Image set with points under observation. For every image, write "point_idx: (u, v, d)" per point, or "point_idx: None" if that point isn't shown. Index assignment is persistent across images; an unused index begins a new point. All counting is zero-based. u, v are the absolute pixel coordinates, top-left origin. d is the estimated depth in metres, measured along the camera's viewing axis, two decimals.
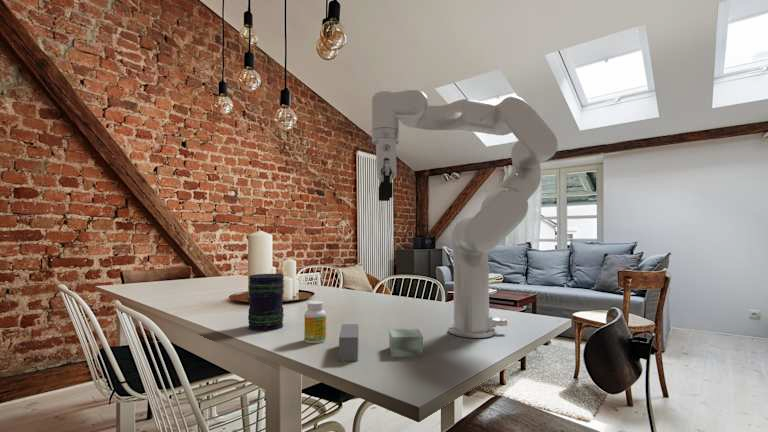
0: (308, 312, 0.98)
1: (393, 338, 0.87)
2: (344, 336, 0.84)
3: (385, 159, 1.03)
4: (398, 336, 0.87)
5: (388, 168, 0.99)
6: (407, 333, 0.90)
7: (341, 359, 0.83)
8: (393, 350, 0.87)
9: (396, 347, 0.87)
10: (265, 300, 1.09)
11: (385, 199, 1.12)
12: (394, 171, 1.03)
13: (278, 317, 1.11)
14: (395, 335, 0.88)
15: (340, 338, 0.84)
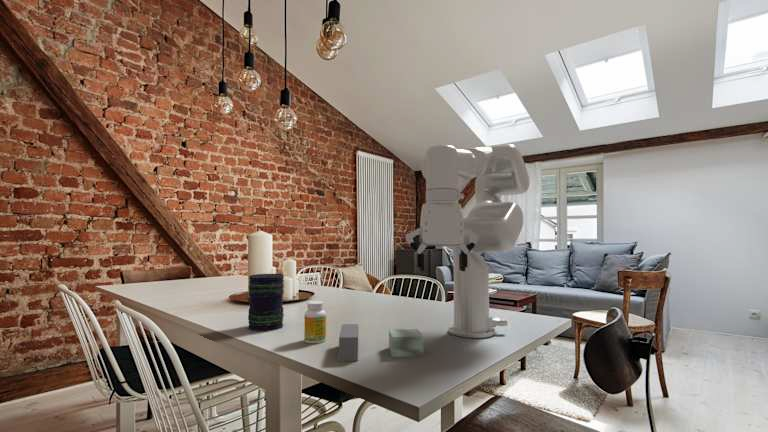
0: (308, 312, 0.98)
1: (393, 338, 0.87)
2: (344, 336, 0.84)
3: (463, 227, 0.92)
4: (398, 336, 0.87)
5: None
6: (407, 333, 0.90)
7: (341, 359, 0.83)
8: (393, 350, 0.86)
9: (396, 347, 0.87)
10: (265, 300, 1.09)
11: None
12: None
13: (278, 317, 1.11)
14: (395, 335, 0.88)
15: (340, 338, 0.84)
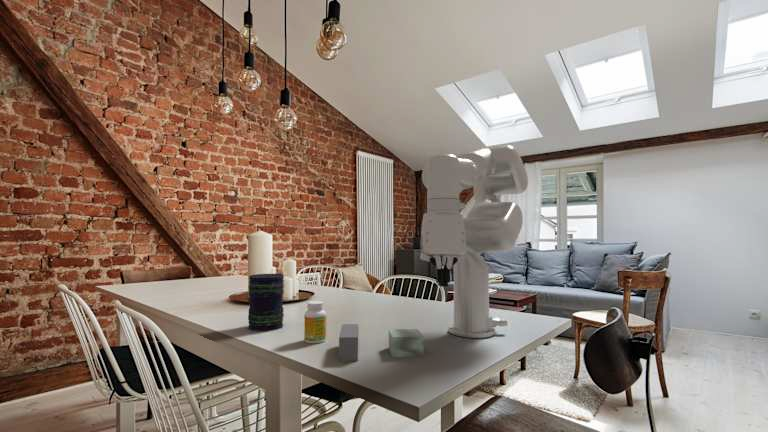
0: (308, 312, 0.98)
1: (394, 338, 0.87)
2: (344, 336, 0.84)
3: None
4: (399, 336, 0.87)
5: (461, 260, 0.92)
6: (407, 333, 0.90)
7: (341, 359, 0.83)
8: (394, 350, 0.86)
9: (396, 347, 0.87)
10: (265, 300, 1.09)
11: None
12: None
13: (278, 317, 1.11)
14: (395, 335, 0.88)
15: (340, 338, 0.84)
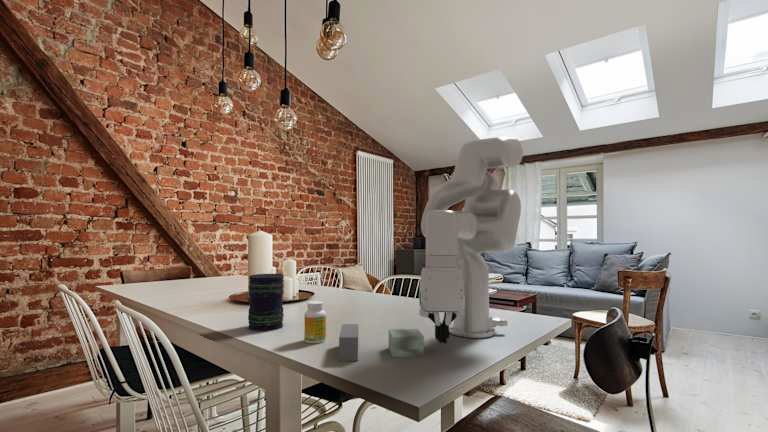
0: (308, 312, 0.98)
1: (394, 338, 0.87)
2: (344, 336, 0.84)
3: None
4: (399, 336, 0.87)
5: None
6: (407, 333, 0.90)
7: (341, 359, 0.83)
8: (394, 350, 0.86)
9: (397, 347, 0.86)
10: (265, 300, 1.09)
11: None
12: None
13: (278, 317, 1.11)
14: (396, 335, 0.88)
15: (340, 338, 0.84)
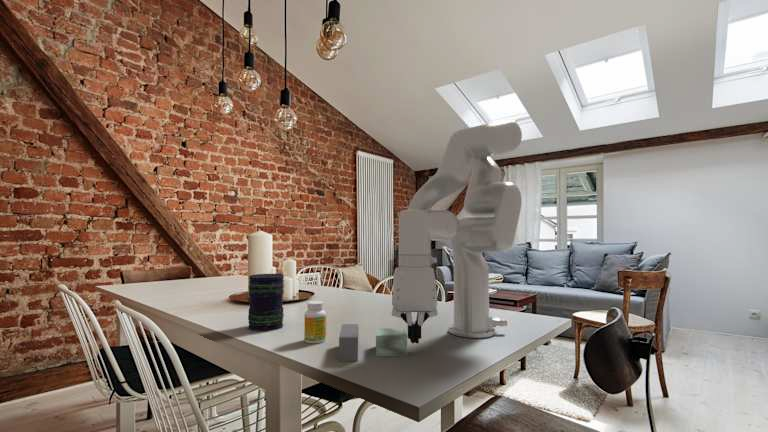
0: (308, 312, 0.98)
1: (377, 337, 0.87)
2: (344, 336, 0.84)
3: None
4: (382, 335, 0.88)
5: None
6: (392, 332, 0.90)
7: (341, 359, 0.83)
8: (377, 349, 0.87)
9: (380, 346, 0.87)
10: (265, 300, 1.09)
11: None
12: None
13: (278, 317, 1.11)
14: (380, 334, 0.89)
15: (340, 338, 0.84)
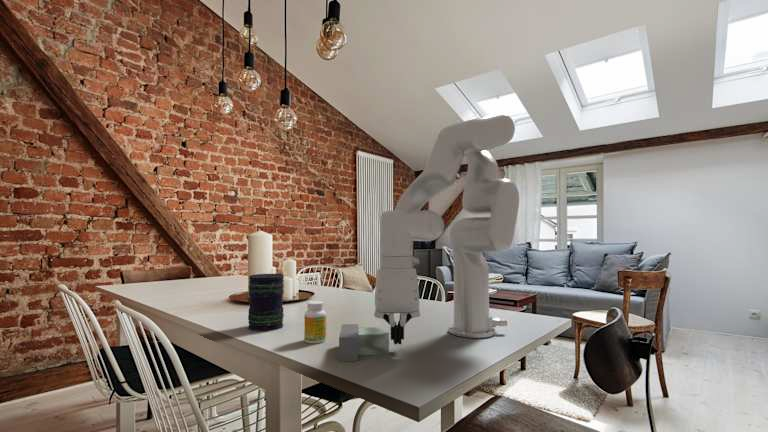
0: (308, 312, 0.98)
1: (359, 336, 0.88)
2: (344, 336, 0.84)
3: None
4: (365, 334, 0.89)
5: None
6: (375, 331, 0.91)
7: (341, 359, 0.83)
8: (359, 348, 0.88)
9: (362, 344, 0.88)
10: (265, 300, 1.09)
11: None
12: None
13: (278, 317, 1.11)
14: (362, 333, 0.90)
15: (340, 338, 0.84)
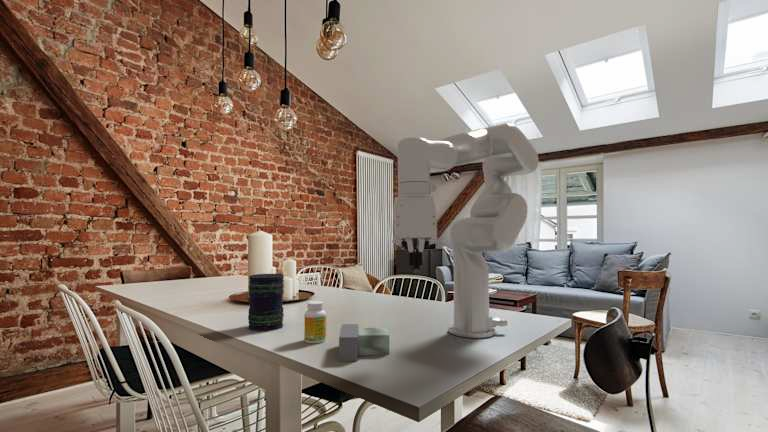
0: (308, 312, 0.98)
1: (360, 336, 0.88)
2: (344, 336, 0.84)
3: None
4: (365, 334, 0.89)
5: (433, 243, 0.92)
6: (375, 331, 0.91)
7: (341, 359, 0.83)
8: (360, 348, 0.88)
9: (362, 345, 0.88)
10: (265, 300, 1.09)
11: None
12: None
13: (278, 317, 1.11)
14: (362, 333, 0.90)
15: (340, 338, 0.84)
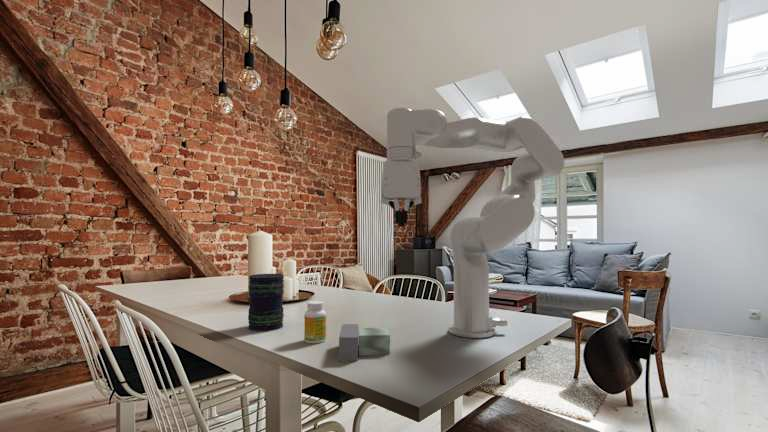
0: (308, 312, 0.98)
1: (360, 336, 0.88)
2: (344, 336, 0.84)
3: None
4: (365, 334, 0.89)
5: None
6: (375, 331, 0.91)
7: (341, 359, 0.83)
8: (360, 348, 0.88)
9: (363, 345, 0.88)
10: (265, 300, 1.09)
11: None
12: None
13: (278, 317, 1.11)
14: (363, 333, 0.89)
15: (340, 338, 0.84)
